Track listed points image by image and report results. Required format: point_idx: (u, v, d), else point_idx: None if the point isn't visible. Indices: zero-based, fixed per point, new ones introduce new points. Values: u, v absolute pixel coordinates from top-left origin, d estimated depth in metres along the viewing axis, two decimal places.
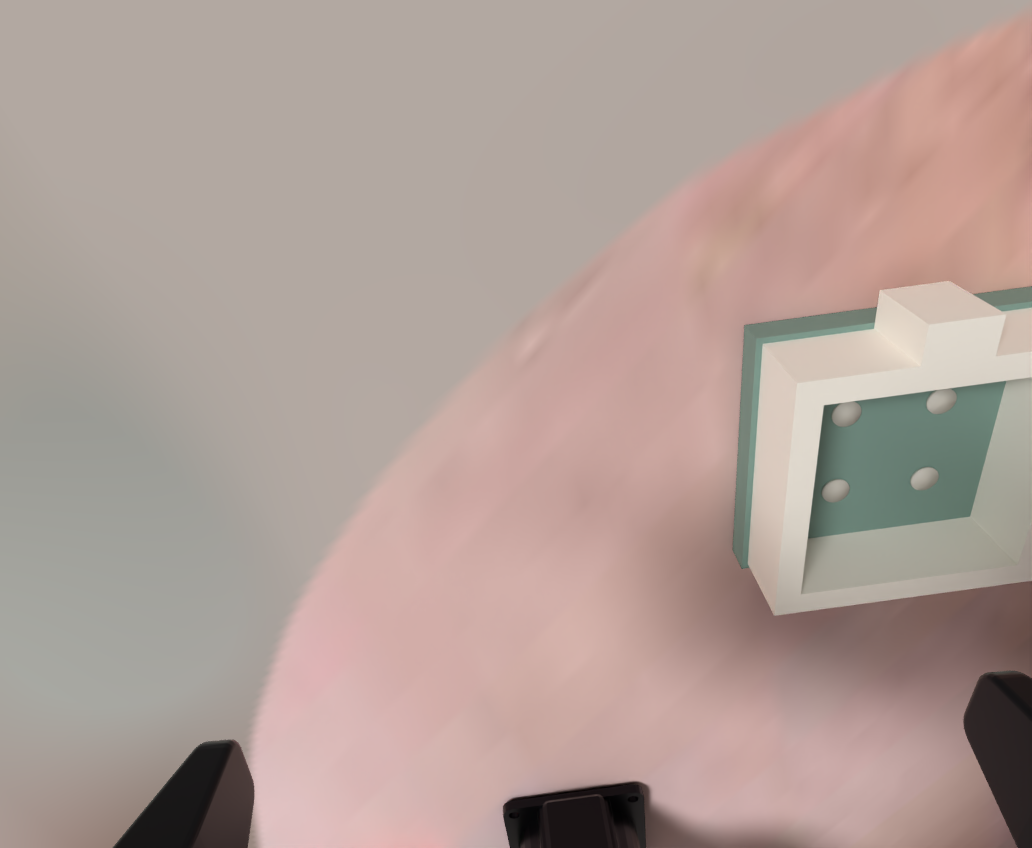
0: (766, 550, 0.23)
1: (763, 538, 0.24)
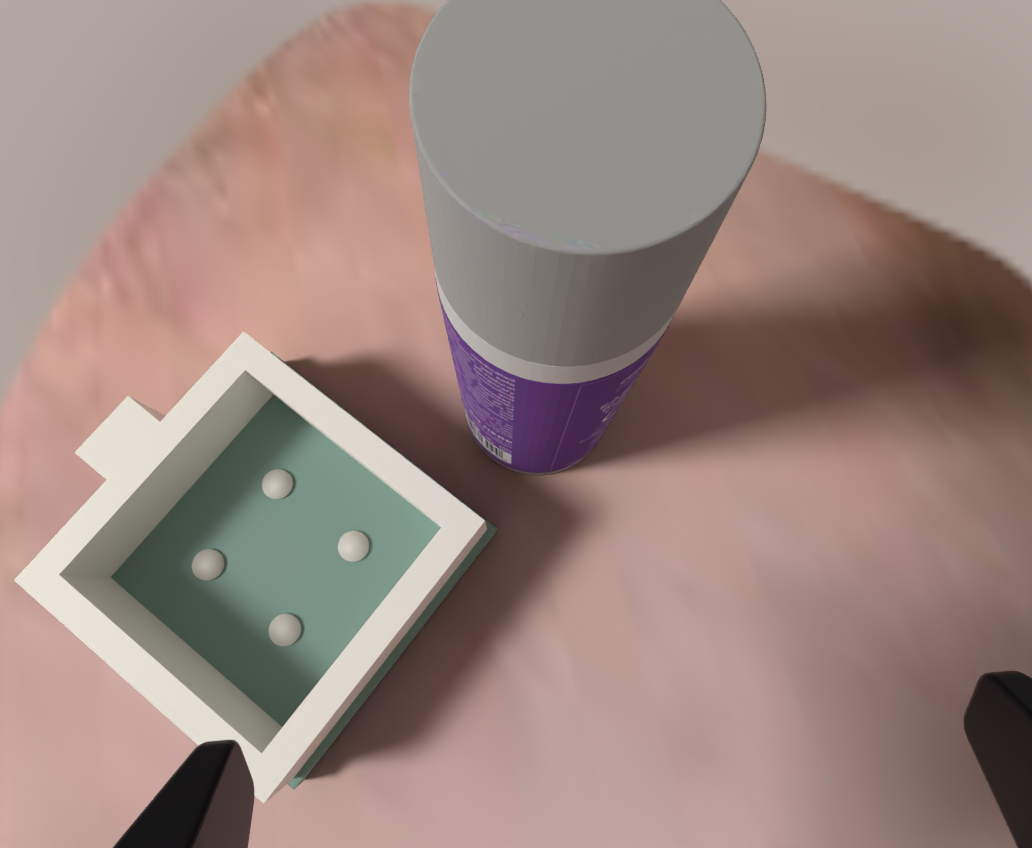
0: None
1: None
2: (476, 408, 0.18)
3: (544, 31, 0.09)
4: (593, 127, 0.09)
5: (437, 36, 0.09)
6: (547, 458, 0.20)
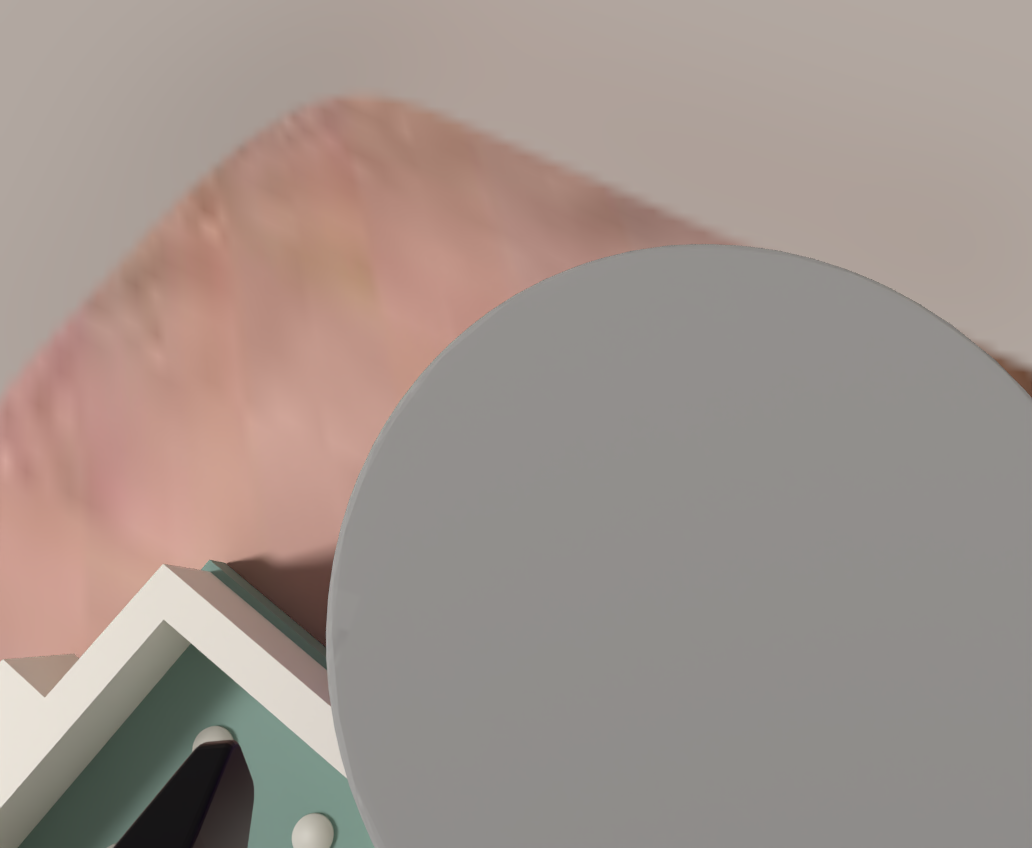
0: None
1: None
2: None
3: (632, 459, 0.04)
4: (757, 717, 0.04)
5: (393, 476, 0.04)
6: None
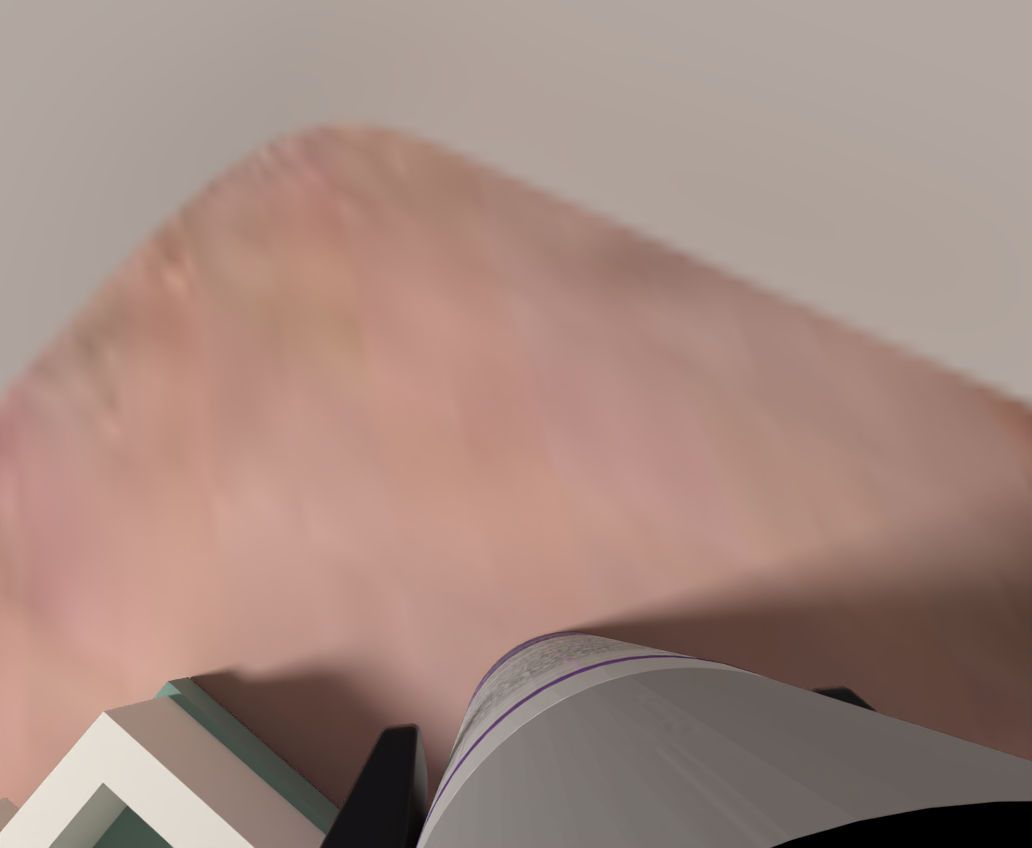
0: None
1: None
2: None
3: None
4: None
5: None
6: None
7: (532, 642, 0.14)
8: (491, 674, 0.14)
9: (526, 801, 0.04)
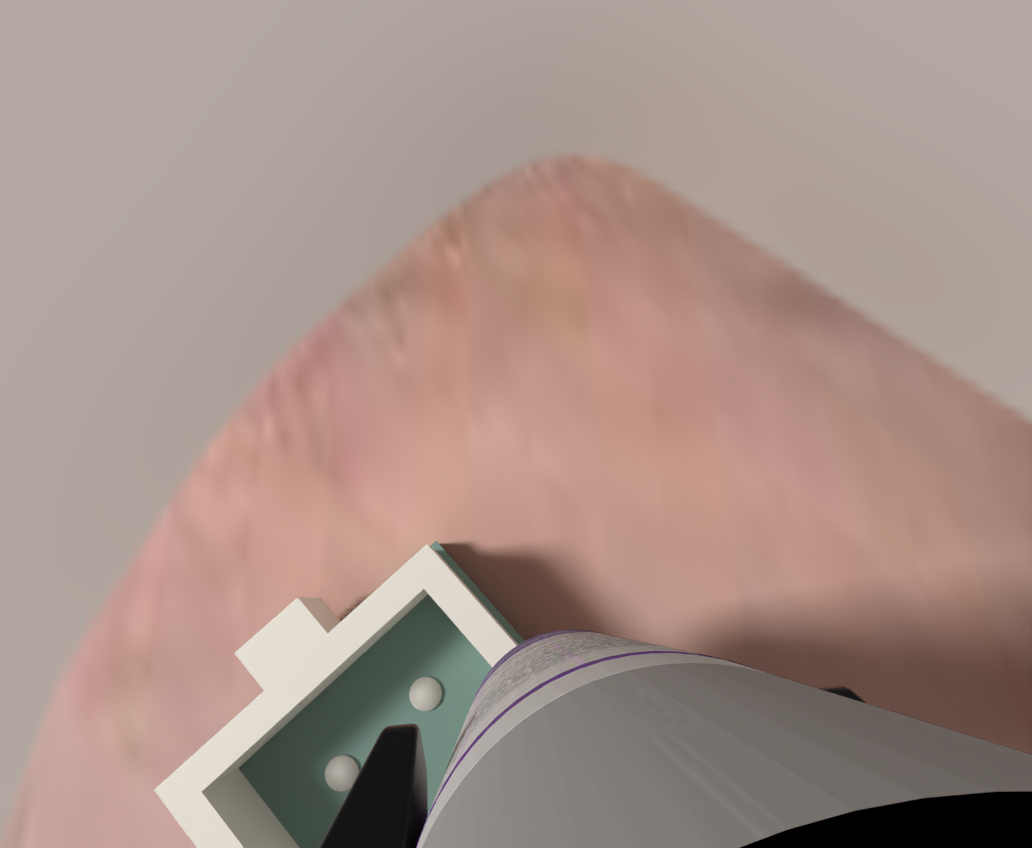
0: None
1: None
2: None
3: None
4: None
5: None
6: None
7: (535, 639, 0.15)
8: (494, 671, 0.14)
9: (526, 792, 0.04)
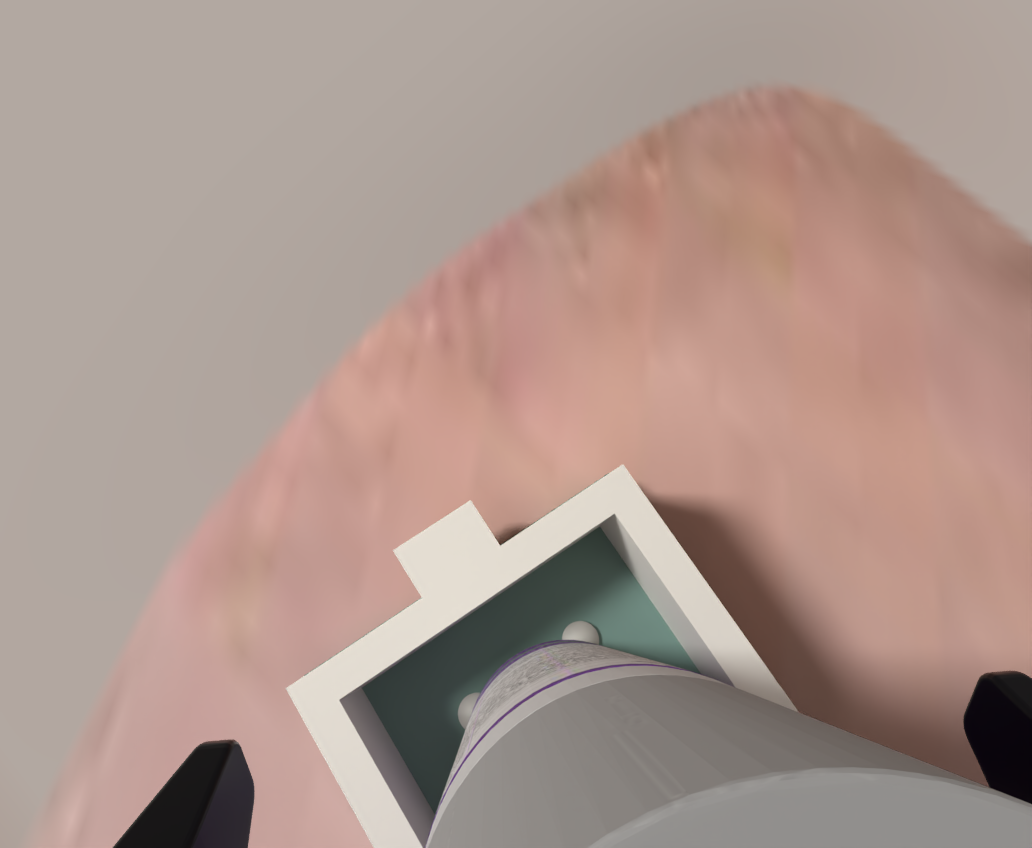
0: None
1: None
2: None
3: None
4: None
5: None
6: None
7: (532, 649, 0.16)
8: (494, 679, 0.15)
9: (520, 775, 0.05)
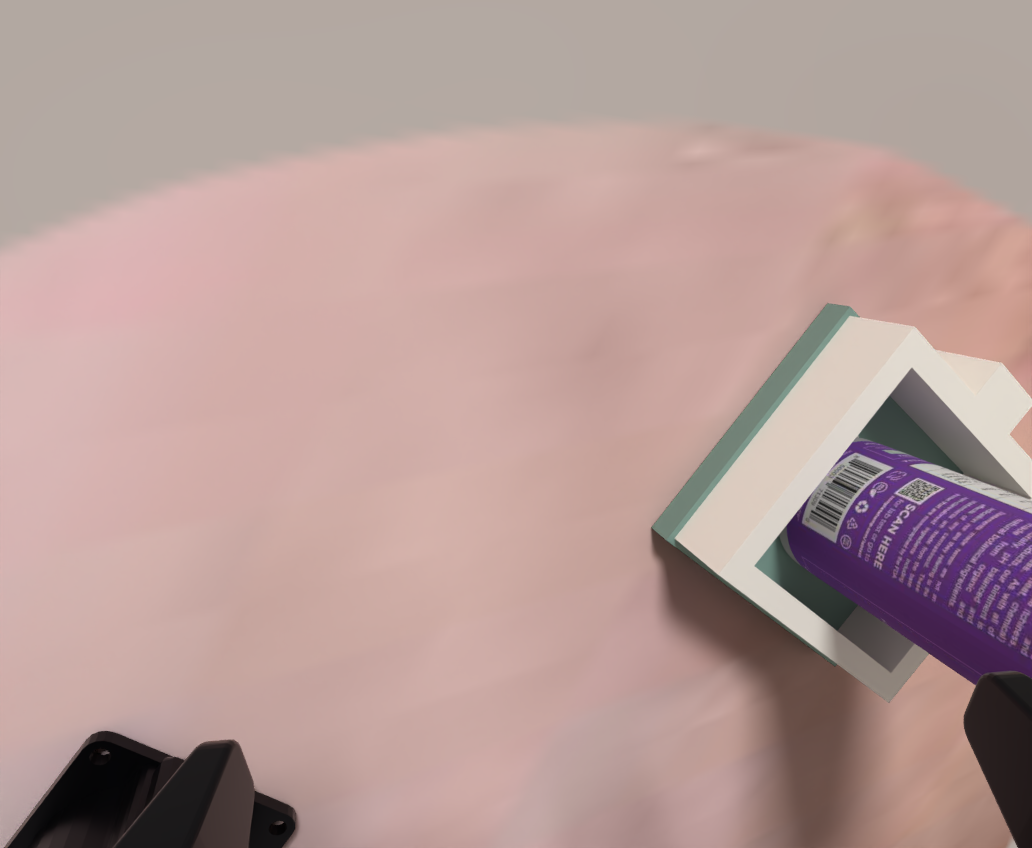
0: (740, 506, 0.21)
1: (739, 496, 0.21)
2: (929, 548, 0.18)
3: None
4: None
5: None
6: (841, 578, 0.21)
7: None
8: None
9: None
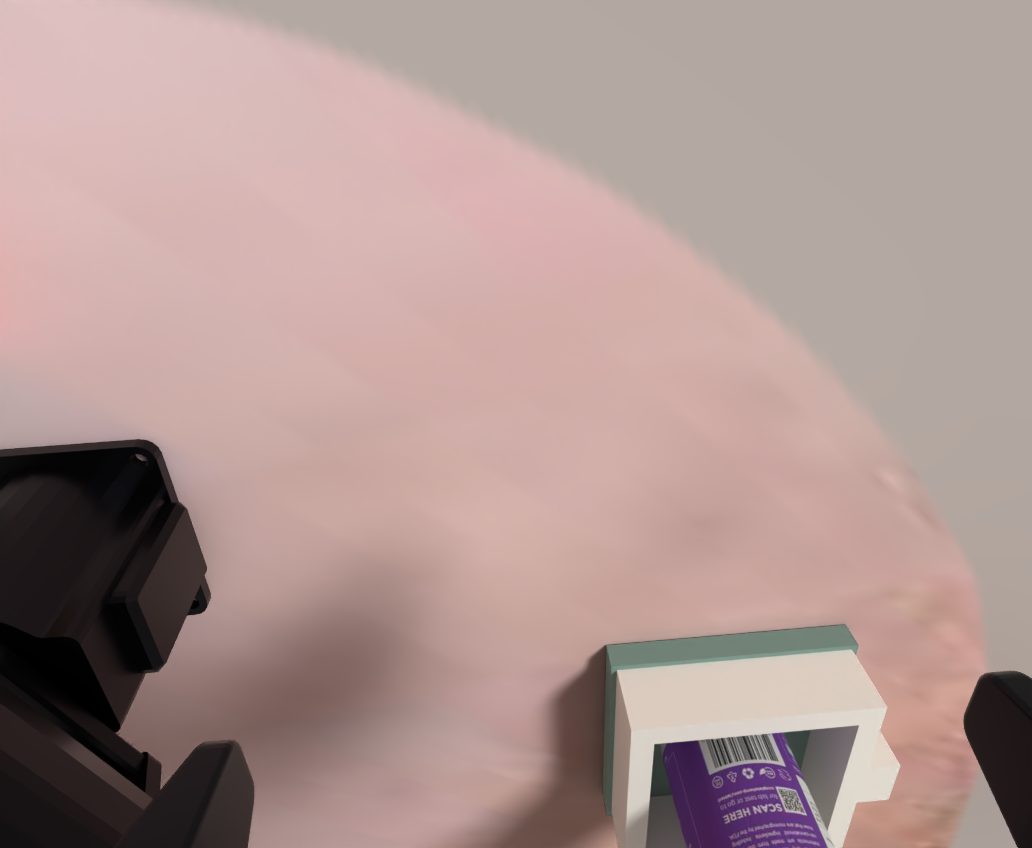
0: (680, 699, 0.25)
1: (685, 691, 0.25)
2: (769, 846, 0.22)
3: None
4: None
5: None
6: (690, 796, 0.25)
7: None
8: None
9: None
